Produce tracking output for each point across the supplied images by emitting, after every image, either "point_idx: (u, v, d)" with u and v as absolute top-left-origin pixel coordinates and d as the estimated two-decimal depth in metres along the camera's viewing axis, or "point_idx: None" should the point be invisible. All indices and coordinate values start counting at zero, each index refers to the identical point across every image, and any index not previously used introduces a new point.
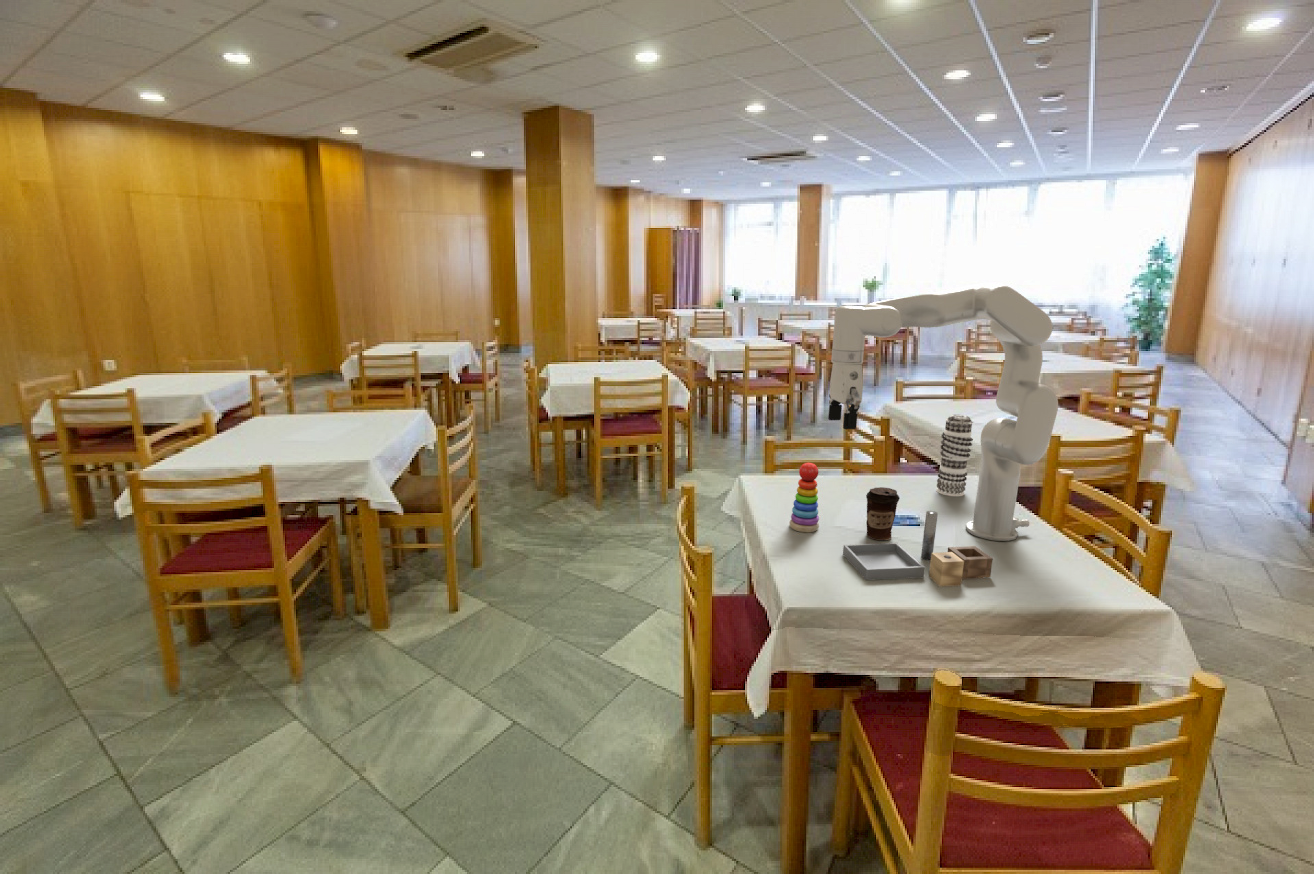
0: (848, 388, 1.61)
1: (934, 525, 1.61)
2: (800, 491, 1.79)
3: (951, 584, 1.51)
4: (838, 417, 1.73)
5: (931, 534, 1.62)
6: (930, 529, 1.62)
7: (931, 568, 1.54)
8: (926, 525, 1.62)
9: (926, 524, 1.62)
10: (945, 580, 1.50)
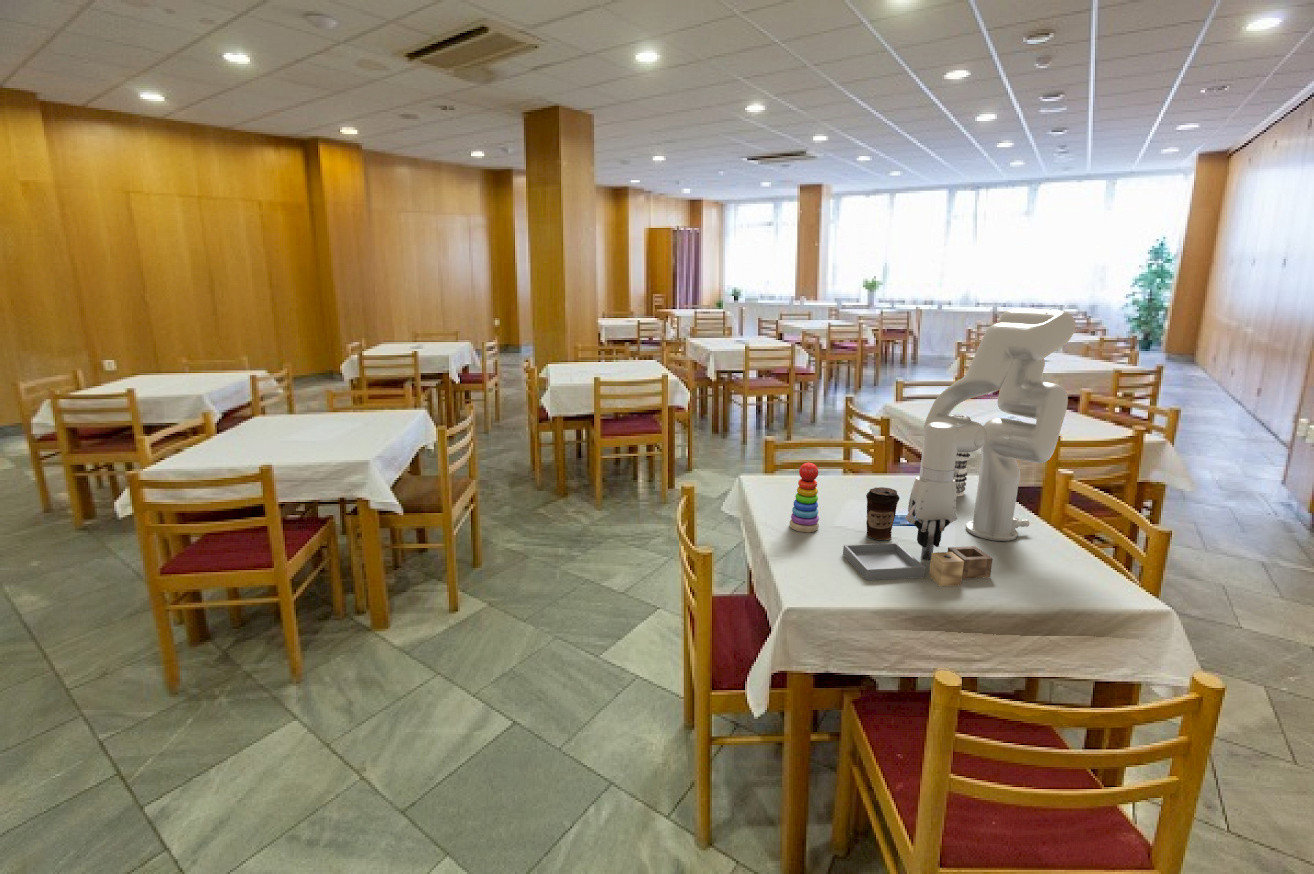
0: None
1: (934, 525, 1.61)
2: (800, 491, 1.79)
3: (951, 584, 1.51)
4: None
5: (931, 534, 1.62)
6: (930, 529, 1.62)
7: (931, 568, 1.54)
8: None
9: None
10: (945, 580, 1.50)
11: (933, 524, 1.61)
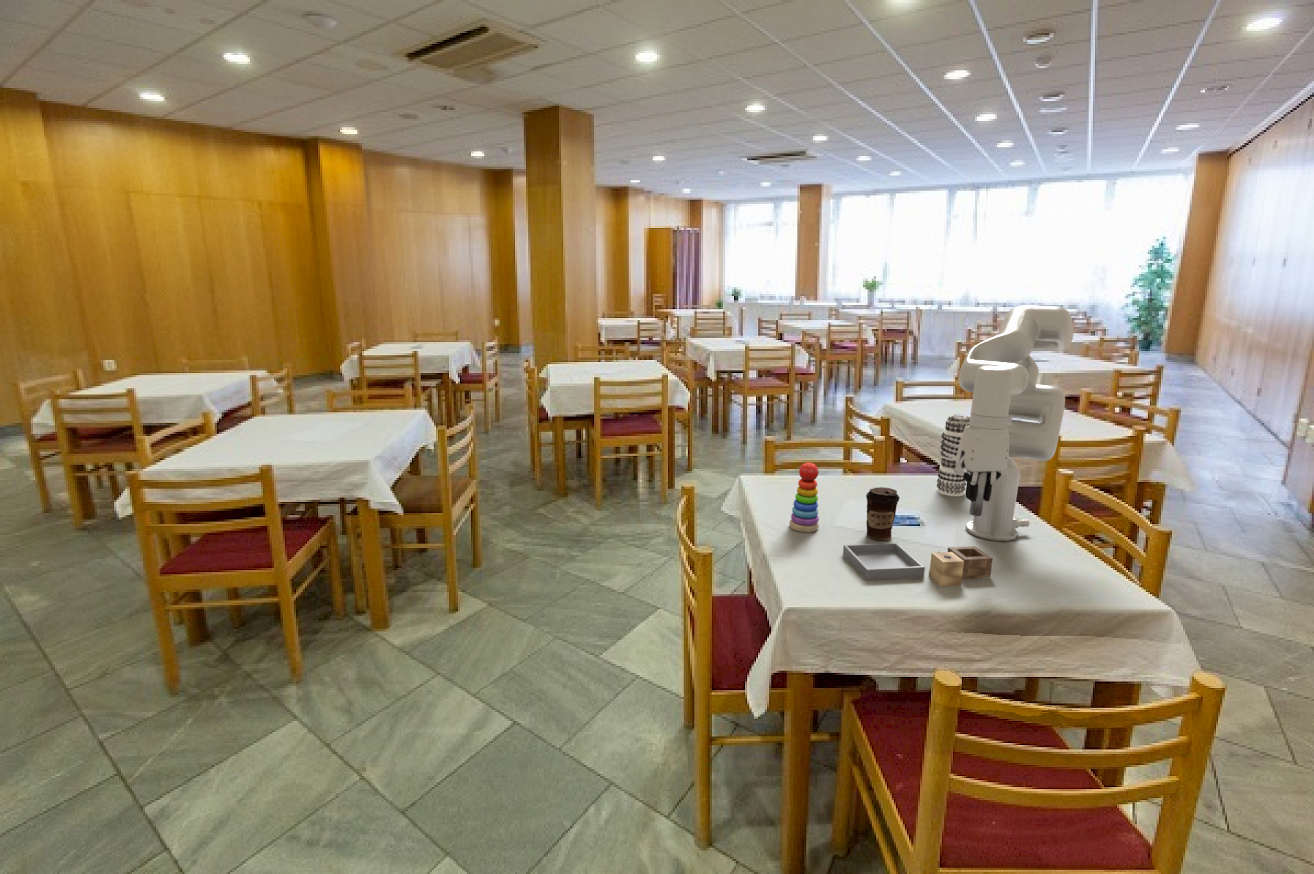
0: None
1: (985, 478, 1.51)
2: (800, 491, 1.79)
3: (951, 584, 1.51)
4: None
5: (982, 487, 1.51)
6: (981, 481, 1.51)
7: (931, 568, 1.54)
8: None
9: None
10: (945, 580, 1.50)
11: (984, 476, 1.50)
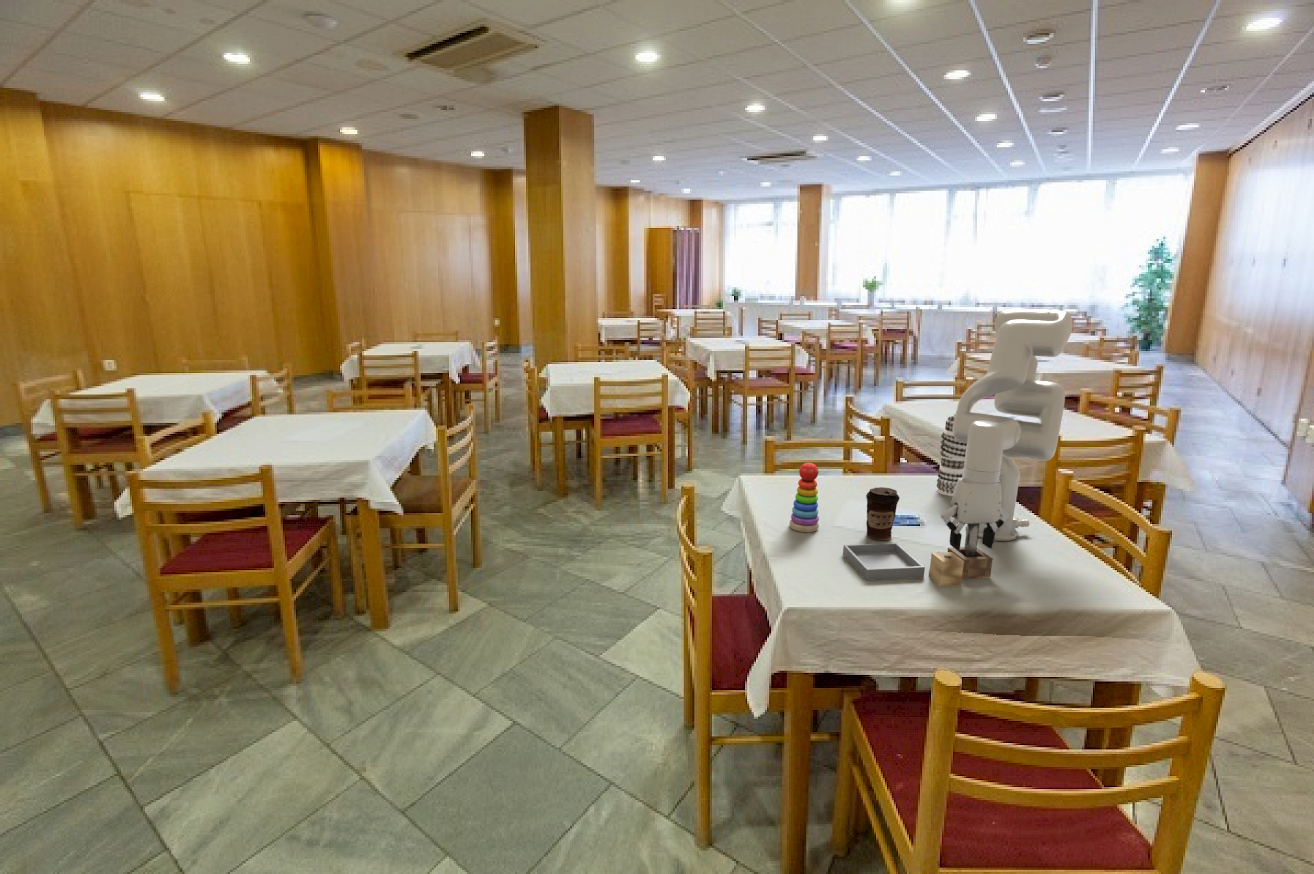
0: None
1: (976, 535, 1.54)
2: (800, 491, 1.79)
3: (951, 584, 1.51)
4: None
5: (974, 544, 1.55)
6: (972, 538, 1.55)
7: (931, 568, 1.54)
8: (968, 535, 1.55)
9: (968, 533, 1.55)
10: (945, 580, 1.50)
11: (975, 533, 1.54)
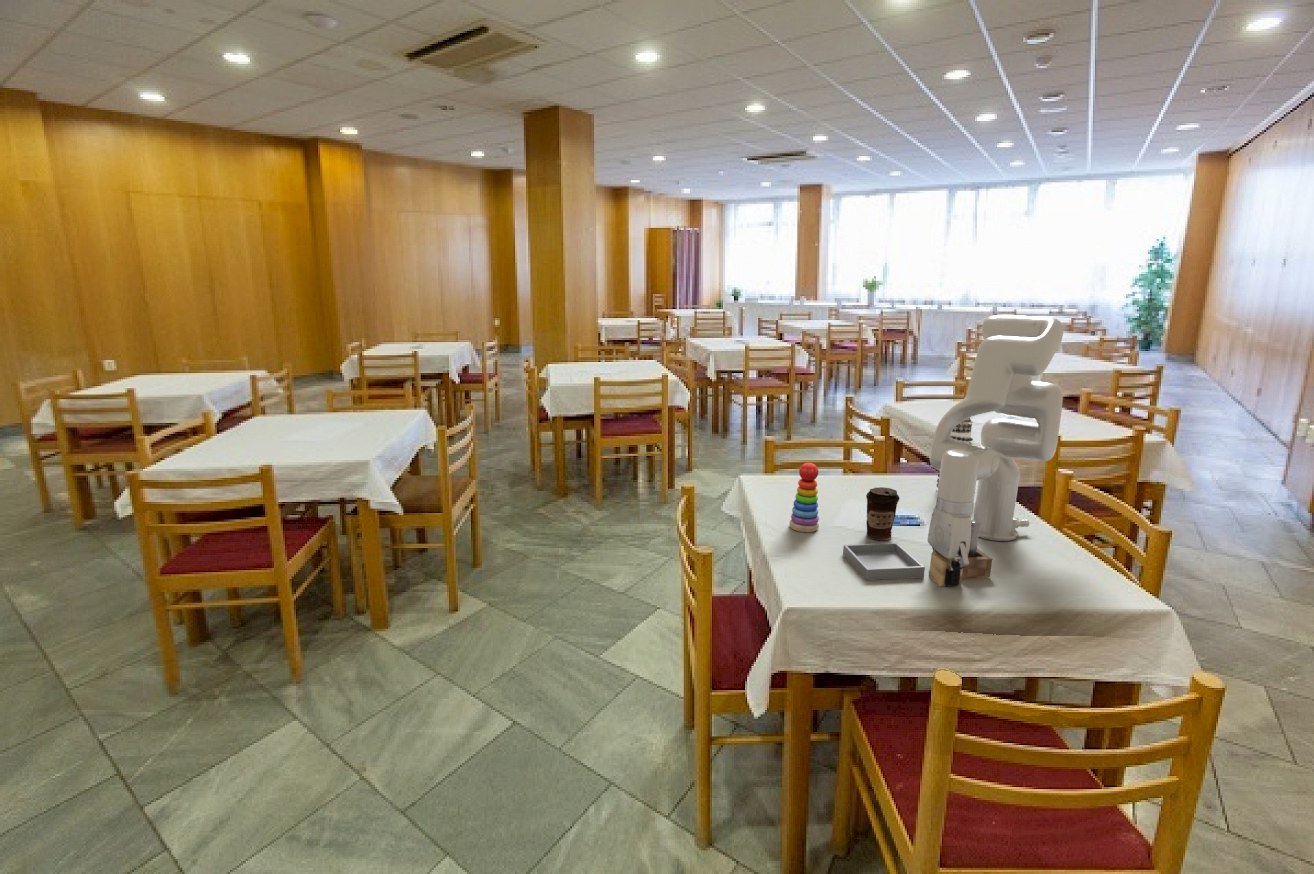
0: None
1: (977, 535, 1.54)
2: (800, 491, 1.79)
3: None
4: None
5: (974, 544, 1.55)
6: (973, 539, 1.54)
7: (931, 568, 1.54)
8: None
9: None
10: None
11: (976, 534, 1.54)
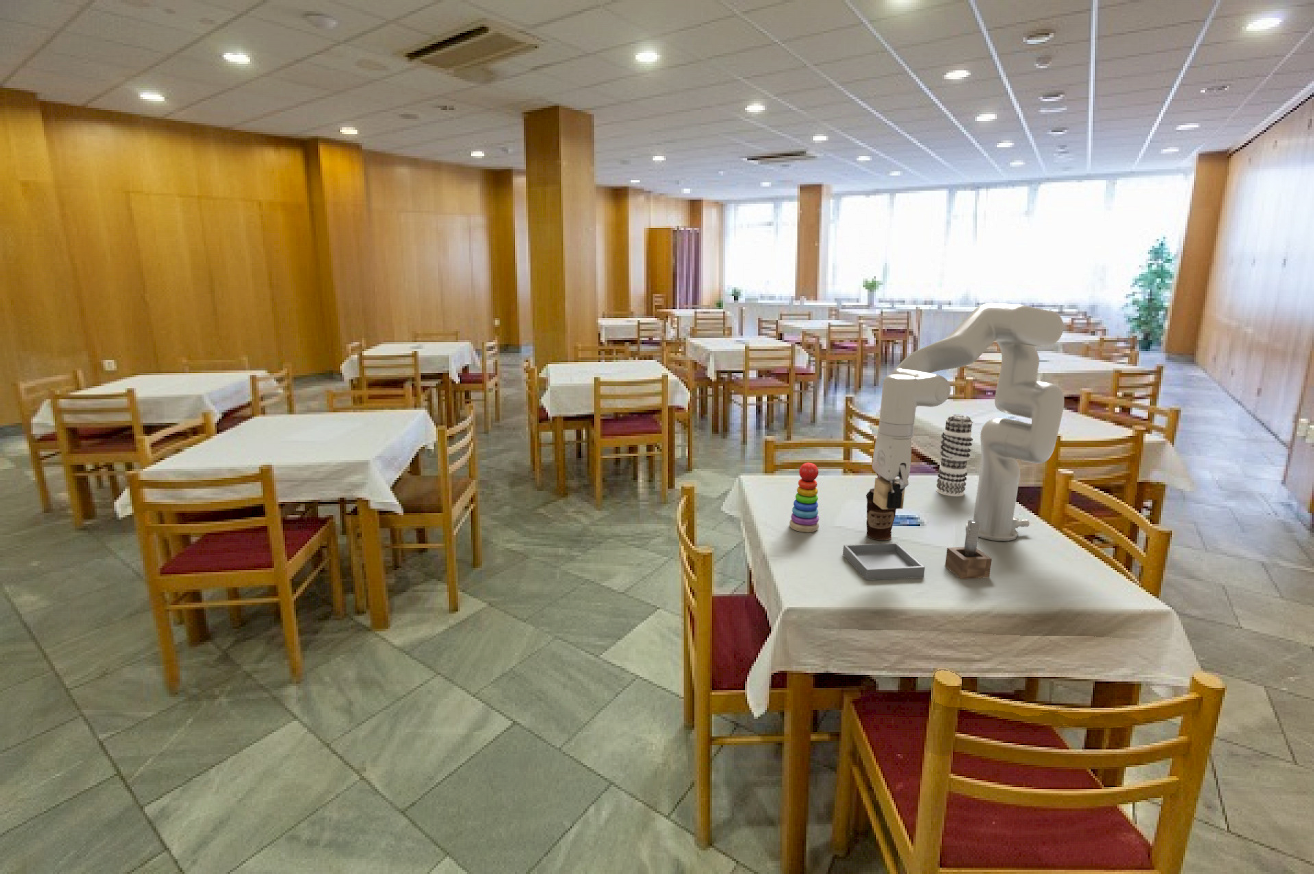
0: None
1: (976, 535, 1.54)
2: (800, 491, 1.79)
3: None
4: None
5: (973, 544, 1.55)
6: (972, 539, 1.54)
7: (875, 493, 1.57)
8: (968, 535, 1.55)
9: (968, 534, 1.55)
10: None
11: (975, 534, 1.54)
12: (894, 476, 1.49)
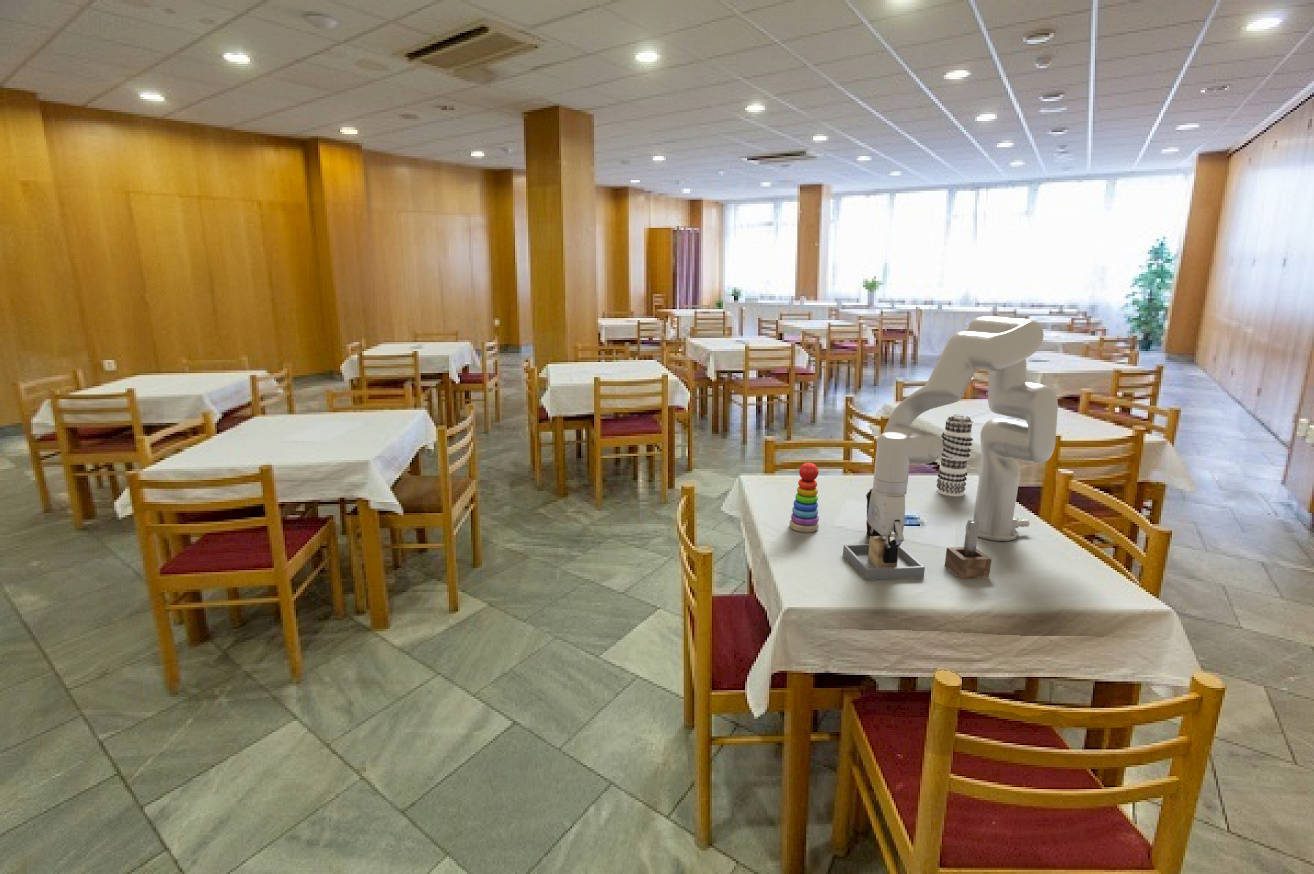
0: None
1: (976, 535, 1.54)
2: (800, 491, 1.79)
3: (887, 566, 1.58)
4: None
5: (973, 544, 1.55)
6: (972, 539, 1.54)
7: (870, 551, 1.61)
8: (967, 535, 1.55)
9: (967, 534, 1.55)
10: (882, 562, 1.57)
11: (975, 534, 1.54)
12: (888, 532, 1.53)
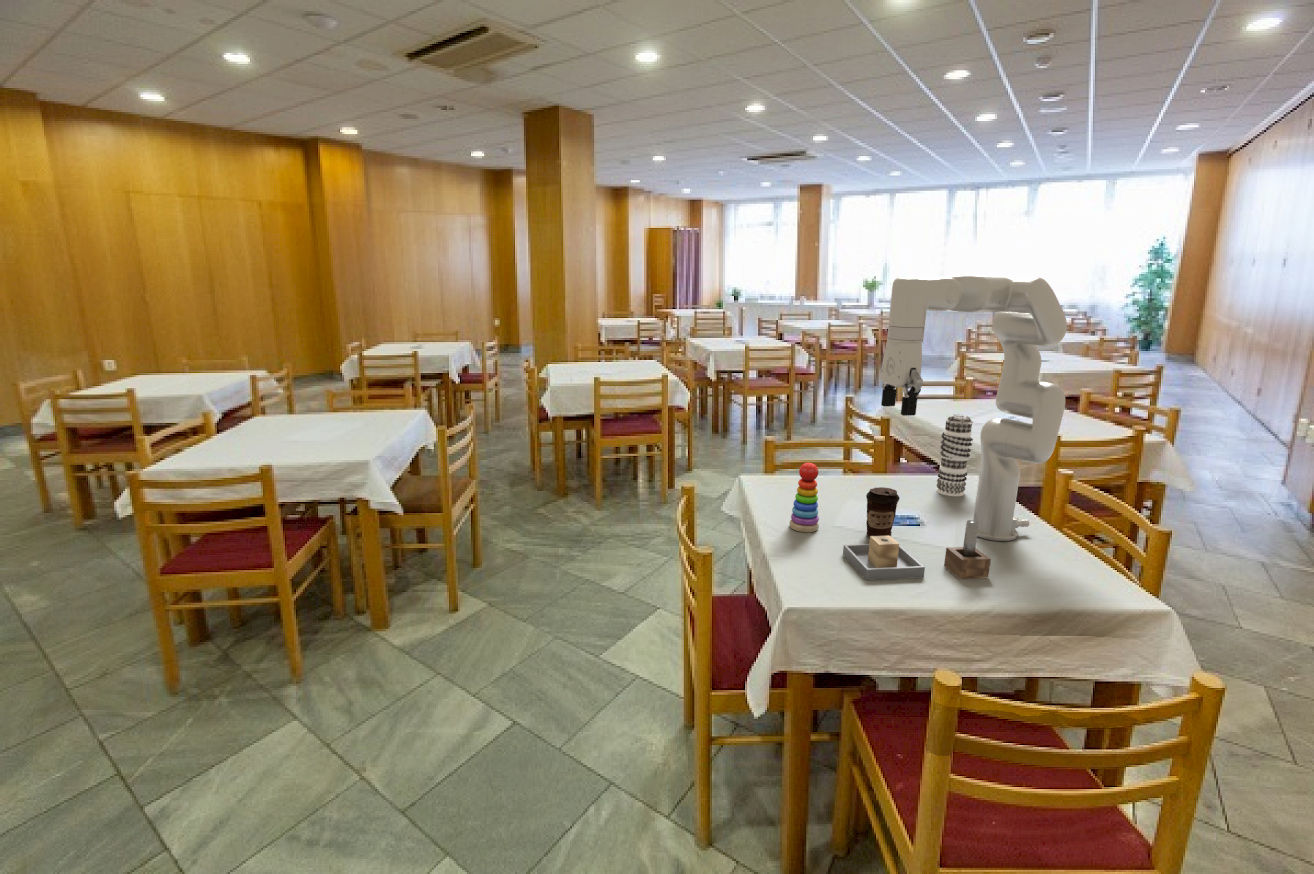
0: None
1: (975, 535, 1.54)
2: (800, 491, 1.79)
3: (887, 566, 1.58)
4: None
5: (972, 544, 1.55)
6: (971, 539, 1.54)
7: (870, 551, 1.61)
8: (966, 535, 1.55)
9: (966, 534, 1.55)
10: (882, 562, 1.57)
11: (974, 534, 1.54)
12: (904, 382, 1.44)
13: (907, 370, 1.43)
